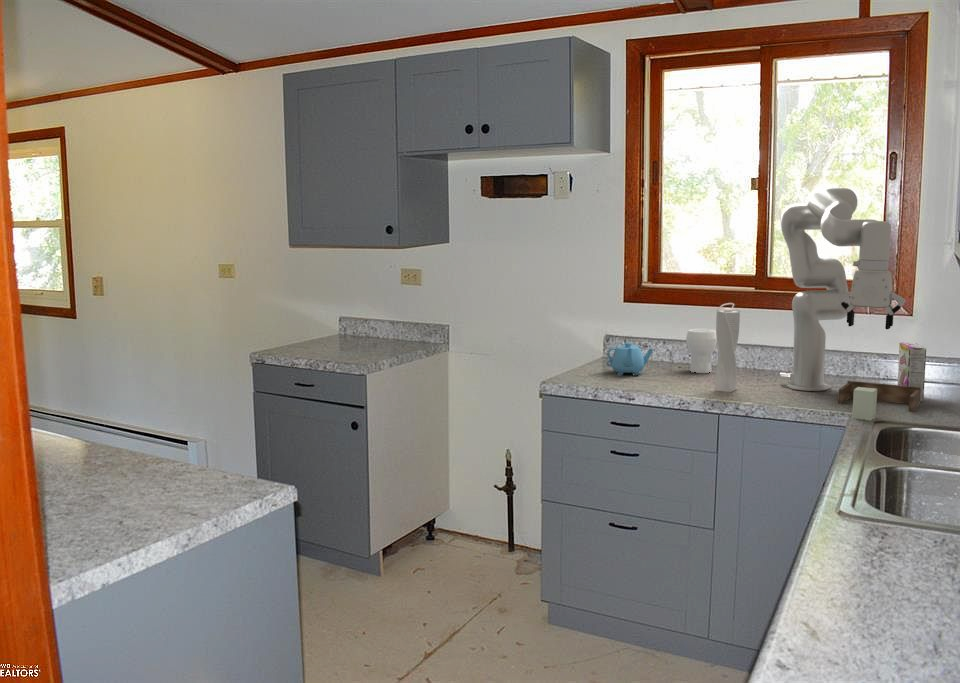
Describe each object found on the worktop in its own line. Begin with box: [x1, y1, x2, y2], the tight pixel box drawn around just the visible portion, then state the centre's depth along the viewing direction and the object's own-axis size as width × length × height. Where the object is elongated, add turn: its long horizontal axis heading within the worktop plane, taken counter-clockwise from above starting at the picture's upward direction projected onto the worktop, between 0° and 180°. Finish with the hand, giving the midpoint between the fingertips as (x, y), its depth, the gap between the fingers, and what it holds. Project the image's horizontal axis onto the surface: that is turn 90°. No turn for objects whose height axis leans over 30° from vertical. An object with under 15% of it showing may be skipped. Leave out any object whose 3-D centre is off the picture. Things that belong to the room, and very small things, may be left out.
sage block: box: [851, 387, 877, 421], centre depth 234 cm, size 5×5×8 cm
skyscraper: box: [714, 302, 741, 393], centre depth 272 cm, size 8×8×28 cm
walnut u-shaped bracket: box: [837, 380, 921, 413], centre depth 250 cm, size 20×12×5 cm, turn 54°
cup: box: [685, 328, 717, 374], centre depth 305 cm, size 11×11×15 cm
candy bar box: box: [897, 341, 927, 403], centre depth 257 cm, size 11×5×16 cm, turn 168°
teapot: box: [606, 341, 654, 376], centre depth 304 cm, size 15×14×11 cm
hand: (869, 327), depth 237 cm, fingers open, 9 cm apart
